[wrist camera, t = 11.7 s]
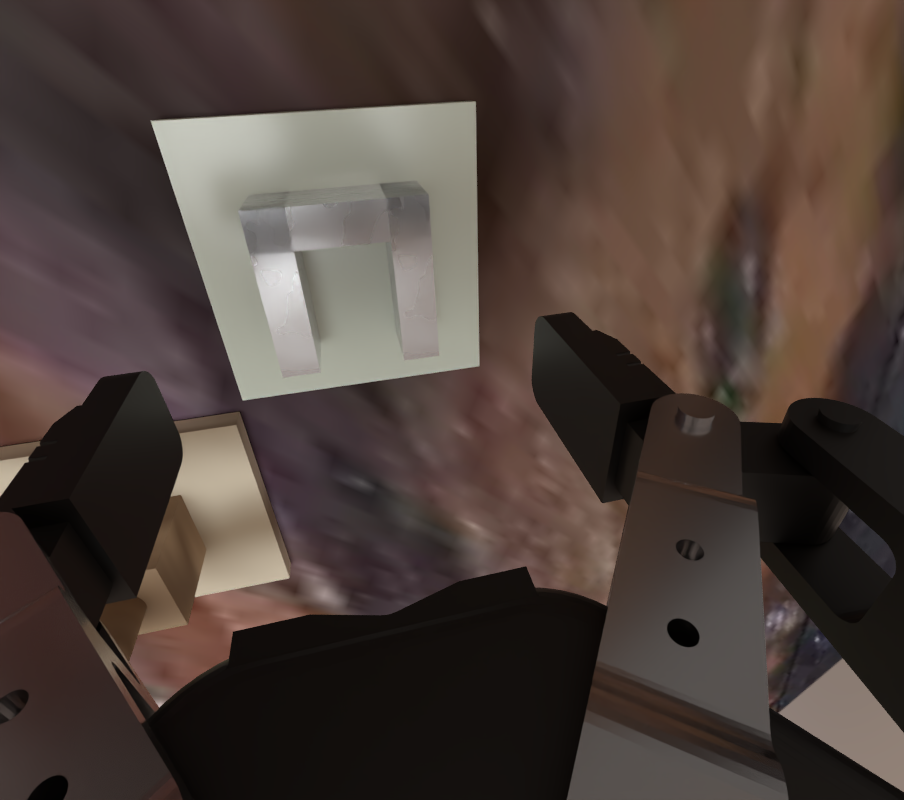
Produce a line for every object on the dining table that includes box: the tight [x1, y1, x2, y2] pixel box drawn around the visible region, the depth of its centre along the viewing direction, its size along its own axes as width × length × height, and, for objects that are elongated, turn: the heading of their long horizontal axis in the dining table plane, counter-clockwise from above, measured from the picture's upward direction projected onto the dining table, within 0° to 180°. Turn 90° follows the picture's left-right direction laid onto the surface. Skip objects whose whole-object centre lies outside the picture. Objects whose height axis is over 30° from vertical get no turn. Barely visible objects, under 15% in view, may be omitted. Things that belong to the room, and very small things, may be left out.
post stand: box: [0, 412, 291, 661], centre depth 20 cm, size 10×10×9 cm
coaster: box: [151, 101, 479, 400], centre depth 19 cm, size 10×10×1 cm
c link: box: [238, 181, 439, 378], centre depth 17 cm, size 6×6×2 cm
